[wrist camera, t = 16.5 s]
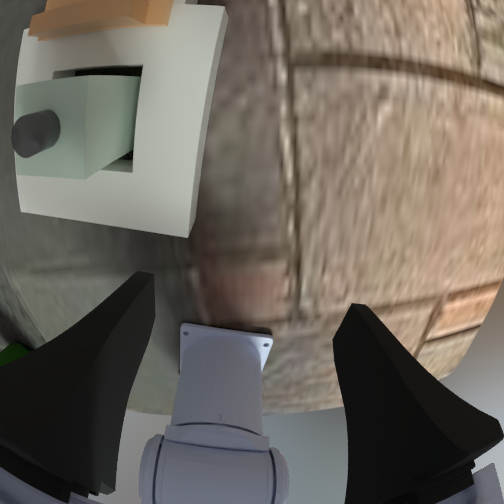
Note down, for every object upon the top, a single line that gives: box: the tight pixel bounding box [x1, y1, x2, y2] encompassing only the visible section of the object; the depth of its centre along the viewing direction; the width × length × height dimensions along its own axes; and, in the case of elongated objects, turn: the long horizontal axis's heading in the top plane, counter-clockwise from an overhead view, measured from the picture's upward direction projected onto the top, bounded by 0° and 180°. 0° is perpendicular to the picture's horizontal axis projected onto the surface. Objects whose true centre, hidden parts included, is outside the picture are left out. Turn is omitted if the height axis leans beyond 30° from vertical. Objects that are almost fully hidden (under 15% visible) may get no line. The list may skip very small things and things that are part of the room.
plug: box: [12, 75, 141, 180], centre depth 11 cm, size 4×4×8 cm
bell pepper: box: [0, 343, 32, 366], centre depth 25 cm, size 8×8×10 cm
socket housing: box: [14, 0, 229, 238], centre depth 12 cm, size 19×13×2 cm
